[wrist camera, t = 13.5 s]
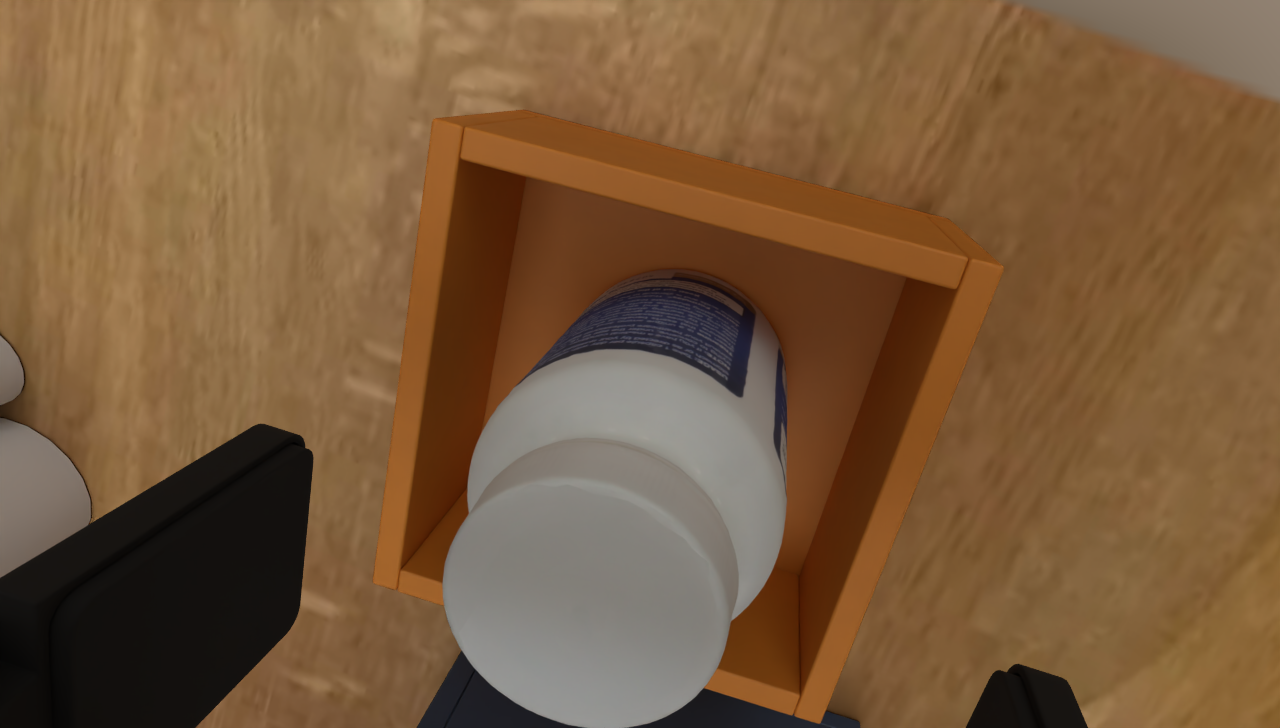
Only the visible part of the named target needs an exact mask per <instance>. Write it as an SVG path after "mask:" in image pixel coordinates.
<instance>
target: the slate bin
mask: <svg viewBox="0 0 1280 728" xmlns="http://www.w3.org/2000/svg"><path fill="white" fill-rule="evenodd" d="M417 728H585V727H578V726H572V725H567V724H564V723H561V722H558V721H554V720H552V719H549V718H546V717H543V716H541V715H538V714H536V713H534V712H532V711H529V710H527V709H525V708H524V707H522V706H520V705H519V704H517V703H515V702H513V701H512V700H511V699H509V698H508V697H506V696H505V695H504V694H502V693H501V692H499V691H498V690H497V689H495V688H494V687H493V686H492V685H490V684H489V683H488V682H487V681H486V680H485V679H484V678H483V677H482V676H481V675H480V674H479V672H478V671H477V670H476V669H475V668H474V667H473V666H472V665H471V663H470V662H469V660H468V659H467V657H466V656H465V654H464V653H463V651H461V653H460V654H459V656H458V658H457V659H456V661H455V663H454V665H453V666H452V668H451V670H450V671H449V673H448V675H447V677H446V678H445V680H444V682H443V683H442V685H441V687H440V689H439V690H438V692H437V694H436V695H435V697H434V699H433V701H432V702H431V704H430V706H429V707H428V709H427V711H426V713H425V714H424V716H423V718H422V719H421V721H420V723H419V725H418V726H417ZM627 728H860V723H859V722H858V721H856V720H853V719H849V718H846V717H843V716H840V715H837V714H833V713H830V712H827V711H825V714H824V716H823V719H822V721H821V723H820V724H817V723H814V722H811V721H807V720H804V719H801V718H798V717H796V716H794V714H793V715H788V714H785V713H781V712H778V711H775V710H772V709H769V708H766V707H762V706H759V705H756V704H753V703H750V702H747V701H743V700H740V699H737V698H734V697H731V696H728V695H724V694H721V693H718V692H715V691H712V690H709V689H705V688H703V689H702V690H701V691H700V692H699V693H698V695H697V696H696V697H695V698H694V699H692V700H691V701H690V702H689V703H687V704H686V705H685V706H683V707H682V708H680V709H679V710H677V711H675V712H674V713H672V714H670V715H668V716H666V717H664V718H662V719H659V720H657V721H654V722H651V723H647V724H643V725H639V726H633V727H627Z"/></svg>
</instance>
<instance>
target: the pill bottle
mask: <svg viewBox="0 0 1280 728" xmlns="http://www.w3.org/2000/svg"><path fill="white" fill-rule="evenodd" d="M786 469H787V375H786V367H785V360H784V355H783V351H782V347H781V344H780V342H779V339H778V337H777V335H776V333H775V331H774V330H773V328H772V326H771V325H770V323H769V321H768V320H767V319H766V317H765V316H764V314H763V313H762V312H761V310H760V309H759V308H758V307H757V306H756V305H755V304H754V303H753V302H752V301H751V300H750V299H748V298H747V297H746V296H745V295H744V294H743V293H742V292H741V291H739V290H738V289H736V288H735V287H733V286H731V285H730V284H728V283H726V282H724V281H722V280H720V279H718V278H715V277H712V276H710V275H707V274H704V273H700V272H696V271H690V270H684V269H663V270H656V271H651V272H646V273H642V274H639V275H636V276H633V277H630V278H628V279H626V280H623V281H621V282H620V283H618V284H616V285H614V286H613V287H611V288H609V289H608V290H607V291H605V292H604V293H603V294H602V295H600V296H599V297H598V298H597V299H596V300H595V301H594V302H593V303H592V304H591V305H590V306H589V307H588V308H586V309H585V310H584V311H583V313H582V314H581V315H580V316H579V317H578V319H577V320H576V321H575V322H574V323H573V324H572V325H571V326H570V327H569V328H568V330H567V331H566V332H565V333H564V334H563V335H562V336H561V337H560V338H559V339H558V341H557V342H556V343H555V344H554V345H553V346H552V347H551V349H550V350H549V351H548V352H547V353H546V354H545V355H544V356H543V357H542V358H541V360H540V361H539V362H538V363H537V364H536V365H535V366H534V367H533V368H532V369H531V371H530V372H529V373H528V374H527V375H526V376H525V377H524V378H523V379H522V380H521V381H520V382H519V383H518V384H517V385H516V386H515V387H514V388H513V389H512V391H511V392H510V393H509V394H508V396H507V397H506V398H505V399H504V400H503V401H502V402H501V403H500V404H499V405H498V407H497V408H496V410H495V412H494V413H493V414H492V416H491V417H490V419H489V420H488V422H487V424H486V426H485V428H484V429H483V431H482V433H481V435H480V437H479V440H478V442H477V444H476V447H475V450H474V453H473V456H472V460H471V465H470V470H469V477H468V493H467V501H468V510H469V514H468V516H467V517H466V519H465V520H464V522H463V523H462V525H461V526H460V528H459V529H458V532H457V534H456V536H455V538H454V540H453V542H452V544H451V546H450V548H449V552H448V555H447V558H446V561H445V565H444V574H443V585H442V587H443V602H444V607H445V611H446V615H447V619H448V622H449V625H450V628H451V630H452V632H453V634H454V637H455V639H456V640H457V642H458V645H459V647H460V648H461V650H462V651H463V653H464V654H465V656H466V657H467V659H468V660H469V662H470V663H471V665H472V666H473V667H474V668H475V669H476V670H477V671H478V672H479V674H480V675H481V676H482V677H483V678H484V679H485V680H486V681H487V682H488V683H489V684H490V685H492V686H493V687H494V688H495V689H497V690H498V691H499V692H501V693H502V694H504V695H505V696H506V697H508V698H509V699H511V700H512V701H513V702H515V703H517V704H519V705H520V706H522V707H524V708H525V709H527V710H529V711H532V712H534V713H536V714H538V715H541V716H543V717H546V718H549V719H552V720H554V721H558V722H561V723H564V724H567V725H572V726H578V727H585V728H627V727H633V726H639V725H643V724H647V723H651V722H654V721H657V720H659V719H662V718H664V717H666V716H668V715H670V714H672V713H674V712H675V711H677V710H679V709H680V708H682V707H683V706H685V705H686V704H687V703H689V702H690V701H691V700H692V699H694V698H695V697H696V696H697V695H698V693H699V692H700V691H701V690H702V689H703V688H704V687H705V686H706V685H707V683H708V682H709V680H710V679H711V677H712V676H713V674H714V673H715V671H716V669H717V667H718V665H719V663H720V661H721V658H722V655H723V653H724V650H725V646H726V642H727V638H728V634H729V628H730V623H731V621H732V620H733V619H735V618H736V617H737V616H738V615H739V614H740V613H741V612H742V611H743V610H745V609H746V608H747V607H748V606H749V604H750V603H751V602H752V601H753V600H754V599H755V597H756V596H757V595H758V593H759V592H760V591H761V589H762V588H763V587H764V585H765V583H766V581H767V579H768V578H769V576H770V574H771V572H772V570H773V567H774V565H775V562H776V560H777V557H778V554H779V550H780V547H781V544H782V538H783V532H784V525H785V517H786V505H787V494H786Z"/></svg>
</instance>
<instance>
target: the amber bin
mask: <svg viewBox="0 0 1280 728" xmlns="http://www.w3.org/2000/svg"><path fill="white" fill-rule="evenodd" d="M663 269H684V270H690V271H696V272H700V273H704V274H707V275H710V276H712V277H715V278H718V279H720V280H722V281H724V282H726V283H728V284H730V285H731V286H733V287H735V288H736V289H738V290H739V291H741V292H742V293H743V294H744V295H745V296H746V297H747V298H748V299H750V300H751V301H752V302H753V303H754V304H755V305H756V306H757V307H758V308H759V309H760V310H761V312H762V313H763V314H764V316H765V317H766V319H767V320H768V321H769V323H770V325H771V326H772V328H773V330H774V331H775V333H776V335H777V337H778V339H779V342H780V344H781V347H782V351H783V355H784V360H785V367H786V375H787V469H786V494H787V505H786V517H785V525H784V532H783V538H782V544H781V547H780V550H779V554H778V557H777V560H776V562H775V565H774V567H773V570H772V572H771V574H770V576H769V578H768V579H767V581H766V583H765V585H764V587H763V588H762V589H761V591H760V592H759V593H758V595H757V596H756V597H755V599H754V600H753V601H752V602H751V603H750V604H749V606H748V607H747V608H746V609H745V610H743V611H742V612H741V613H740V614H739V615H738V616H737V617H736V618H735V619H733V620H732V621H731V623H730V628H729V634H728V638H727V642H726V646H725V650H724V653H723V655H722V658H721V661H720V663H719V665H718V667H717V669H716V671H715V673H714V674H713V676H712V677H711V679H710V680H709V682H708V683H707V685H706V686H705V687H704V688H705V689H709V690H712V691H715V692H718V693H721V694H724V695H728V696H731V697H734V698H737V699H740V700H743V701H747V702H750V703H753V704H756V705H759V706H762V707H766V708H769V709H772V710H775V711H778V712H781V713H785V714H788V715H793V714H794V716H796V717H798V718H801V719H804V720H807V721H811V722H814V723H817V724H820V723H821V721H822V719H823V716H824V714H825V711H826V709H827V706H828V704H829V702H830V699H831V697H832V694H833V692H834V689H835V687H836V684H837V682H838V679H839V677H840V674H841V672H842V669H843V667H844V664H845V662H846V659H847V657H848V655H849V652H850V650H851V647H852V645H853V642H854V640H855V637H856V635H857V632H858V630H859V627H860V625H861V622H862V620H863V617H864V615H865V612H866V610H867V607H868V605H869V603H870V600H871V598H872V595H873V593H874V590H875V588H876V585H877V583H878V580H879V578H880V575H881V573H882V570H883V568H884V565H885V563H886V560H887V558H888V555H889V553H890V551H891V548H892V546H893V543H894V541H895V538H896V536H897V533H898V531H899V528H900V526H901V523H902V521H903V518H904V516H905V513H906V511H907V508H908V506H909V504H910V501H911V499H912V496H913V494H914V491H915V489H916V486H917V484H918V481H919V479H920V476H921V474H922V471H923V469H924V466H925V464H926V461H927V459H928V456H929V454H930V452H931V449H932V447H933V444H934V442H935V439H936V437H937V434H938V432H939V429H940V427H941V424H942V422H943V419H944V417H945V414H946V412H947V409H948V407H949V405H950V402H951V400H952V397H953V395H954V392H955V390H956V387H957V385H958V382H959V380H960V377H961V375H962V372H963V370H964V367H965V365H966V362H967V360H968V357H969V355H970V353H971V350H972V348H973V345H974V343H975V340H976V338H977V335H978V333H979V330H980V328H981V325H982V323H983V320H984V318H985V315H986V313H987V310H988V308H989V305H990V303H991V301H992V298H993V296H994V293H995V291H996V288H997V286H998V283H999V281H1000V278H1001V276H1002V273H1003V271H1004V267H1003V266H1002V265H1001V264H1000V263H999V262H998V261H996V260H995V259H994V258H993V257H992V256H991V255H989V254H988V253H987V252H986V251H985V250H984V249H983V248H981V247H980V246H979V245H978V244H977V243H976V242H975V241H973V240H972V239H971V238H970V237H969V236H968V235H967V234H965V233H964V232H963V231H962V230H961V229H960V228H959V227H957V226H956V225H955V224H954V223H953V222H951V221H950V220H949V219H947V218H944V217H940V216H936V215H932V214H928V213H924V212H920V211H916V210H912V209H908V208H905V207H901V206H897V205H893V204H889V203H885V202H881V201H877V200H873V199H869V198H866V197H862V196H858V195H854V194H850V193H846V192H842V191H838V190H834V189H830V188H827V187H823V186H819V185H815V184H811V183H807V182H803V181H799V180H795V179H791V178H788V177H784V176H780V175H776V174H772V173H768V172H764V171H760V170H756V169H752V168H749V167H745V166H741V165H737V164H733V163H729V162H725V161H721V160H717V159H713V158H710V157H706V156H702V155H698V154H694V153H690V152H686V151H682V150H678V149H674V148H670V147H667V146H663V145H659V144H655V143H651V142H647V141H643V140H639V139H635V138H631V137H628V136H624V135H620V134H616V133H612V132H608V131H604V130H600V129H596V128H592V127H589V126H585V125H581V124H577V123H573V122H569V121H565V120H561V119H557V118H553V117H550V116H546V115H542V114H538V113H534V112H530V111H526V110H516V111H505V112H495V113H485V114H475V115H465V116H455V117H445V118H436V119H433V121H432V128H431V136H430V144H429V151H428V159H427V167H426V175H425V182H424V190H423V198H422V205H421V213H420V221H419V229H418V236H417V244H416V252H415V259H414V267H413V275H412V282H411V290H410V298H409V306H408V313H407V321H406V329H405V336H404V344H403V352H402V360H401V367H400V375H399V383H398V390H397V398H396V406H395V413H394V421H393V429H392V437H391V444H390V452H389V460H388V467H387V475H386V483H385V491H384V498H383V506H382V514H381V521H380V529H379V537H378V544H377V552H376V560H375V568H374V575H373V583H374V584H377V585H380V586H383V587H386V588H389V589H392V590H396V589H397V588H398V591H399V592H401V593H404V594H407V595H411V596H414V597H417V598H420V599H423V600H426V601H430V602H433V603H436V604H439V605H442V606H444V602H443V587H442V585H443V574H444V565H445V561H446V558H447V555H448V552H449V548H450V546H451V544H452V542H453V540H454V538H455V536H456V534H457V532H458V529H459V528H460V526H461V525H462V523H463V522H464V520H465V519H466V517H467V516H468V514H469V510H468V501H467V493H468V477H469V470H470V465H471V460H472V456H473V453H474V450H475V447H476V444H477V442H478V440H479V437H480V435H481V433H482V431H483V429H484V428H485V426H486V424H487V422H488V420H489V419H490V417H491V416H492V414H493V413H494V412H495V410H496V408H497V407H498V405H499V404H500V403H501V402H502V401H503V400H504V399H505V398H506V397H507V396H508V394H509V393H510V392H511V391H512V389H513V388H514V387H515V386H516V385H517V384H518V383H519V382H520V381H521V380H522V379H523V378H524V377H525V376H526V375H527V374H528V373H529V372H530V371H531V369H532V368H533V367H534V366H535V365H536V364H537V363H538V362H539V361H540V360H541V358H542V357H543V356H544V355H545V354H546V353H547V352H548V351H549V350H550V349H551V347H552V346H553V345H554V344H555V343H556V342H557V341H558V339H559V338H560V337H561V336H562V335H563V334H564V333H565V332H566V331H567V330H568V328H569V327H570V326H571V325H572V324H573V323H574V322H575V321H576V320H577V319H578V317H579V316H580V315H581V314H582V313H583V311H584V310H585V309H586V308H588V307H589V306H590V305H591V304H592V303H593V302H594V301H595V300H596V299H597V298H598V297H599V296H600V295H602V294H603V293H604V292H605V291H607V290H608V289H609V288H611V287H613V286H614V285H616V284H618V283H620V282H621V281H623V280H626V279H628V278H630V277H633V276H636V275H639V274H642V273H646V272H651V271H656V270H663Z"/></svg>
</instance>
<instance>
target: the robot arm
mask: <svg viewBox="0 0 1280 728" xmlns="http://www.w3.org/2000/svg"><path fill="white" fill-rule="evenodd" d="M312 470H313V454H312V451H310V450H309V449H306V448H305V442H304V439H303V438H302V437H301V436H300V435H297V434H294V433H291V432H288V431H285V430H282V429H279V428H275V427H272V426H269V425H266V424H258V425H255V426H253V427H251V428H250V429H248V430H246V431H245V432H243V433H241V434H240V435H238V436H236V437H235V438H233V439H231V440H230V441H228V442H226V443H225V444H223V445H221V446H220V447H218V448H216V449H215V450H213V451H211V452H210V453H208V454H206V455H205V456H203V457H201V458H200V459H198V460H196V461H194V462H193V463H191V464H189V465H188V466H186V467H184V468H183V469H181V470H179V471H178V472H176V473H174V474H173V475H171V476H169V477H168V478H166V479H164V480H163V481H161V482H159V483H158V484H156V485H154V486H153V487H151V488H149V489H148V490H146V491H144V492H143V493H141V494H139V495H138V496H136V497H134V498H133V499H131V500H129V501H128V502H126V503H124V504H123V505H121V506H119V507H118V508H116V509H114V510H113V511H111V512H109V513H108V514H106V515H104V516H103V517H101V518H99V519H98V520H96V521H94V522H93V523H91V524H89V525H88V526H86V527H84V528H83V529H81V530H79V531H78V532H76V533H74V534H73V535H71V536H69V537H68V538H66V539H64V540H63V541H61V542H59V543H58V544H56V545H54V546H53V547H51V548H49V549H48V550H46V551H44V552H43V553H41V554H39V555H37V556H36V557H34V558H32V559H31V560H29V561H27V562H26V563H24V564H22V565H21V566H19V567H17V568H16V569H14V570H12V571H11V572H9V573H7V574H6V575H4V576H2V577H1V578H0V728H195V727H196V726H197V725H198V724H199V723H200V722H201V721H202V720H203V719H204V718H205V717H206V716H207V715H208V714H209V713H210V712H211V711H212V710H213V709H214V708H215V707H216V706H217V705H218V704H219V703H220V702H221V701H222V700H223V699H224V698H225V697H226V695H227V694H228V693H229V692H230V691H231V690H232V689H233V688H234V687H235V686H236V685H237V684H238V683H239V682H240V681H241V680H242V679H243V678H244V677H245V676H246V675H247V674H248V673H249V672H250V671H251V670H252V669H253V668H254V667H255V666H256V665H257V664H258V663H259V662H260V661H261V659H262V658H263V657H264V656H265V655H266V654H267V653H268V652H269V651H270V650H271V649H272V648H273V647H274V646H275V645H276V644H277V643H278V642H279V641H280V640H281V639H282V638H283V637H284V636H285V635H286V634H287V632H288V631H289V630H290V629H291V627H292V625H293V624H294V622H295V620H296V618H297V615H298V612H299V608H300V600H301V589H302V579H303V568H304V557H305V546H306V535H307V524H308V514H309V503H310V492H311V481H312ZM966 728H1088V727H1087V724H1086V722H1085V720H1084V717H1083V715H1082V713H1081V710H1080V708H1079V706H1078V703H1077V701H1076V699H1075V696H1074V694H1073V692H1072V689H1071V687H1070V685H1069V684H1068V682H1067V680H1065V679H1063V678H1061V677H1058V676H1055V675H1052V674H1049V673H1046V672H1042V671H1039V670H1036V669H1033V668H1030V667H1027V666H1024V665H1020V664H1015V665H1013V666H1012V667H1011V668H1010V669H1009V670H1008V672H1004V671H1001V670H998V671H995V672H994V673H993V674H992V676H991V677H990V679H989V681H988V683H987V685H986V687H985V689H984V691H983V693H982V695H981V697H980V700H979V702H978V704H977V706H976V708H975V710H974V712H973V714H972V716H971V718H970V720H969V722H968V724H967V726H966Z"/></svg>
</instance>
